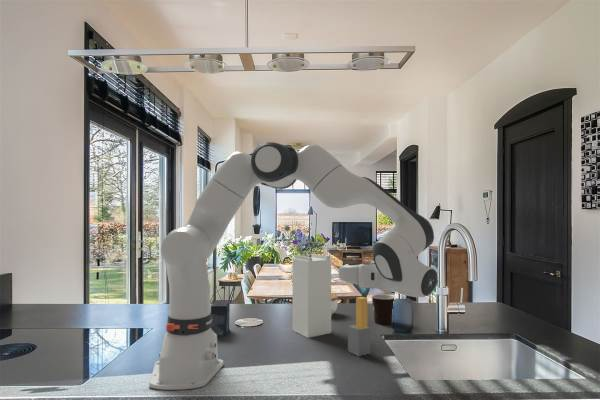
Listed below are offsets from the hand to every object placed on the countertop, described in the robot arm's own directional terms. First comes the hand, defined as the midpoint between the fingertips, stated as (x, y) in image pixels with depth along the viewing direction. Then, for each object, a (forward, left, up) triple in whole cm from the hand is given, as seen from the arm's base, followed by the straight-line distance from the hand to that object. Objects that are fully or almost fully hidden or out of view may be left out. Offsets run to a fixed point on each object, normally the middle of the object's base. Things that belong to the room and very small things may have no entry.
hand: (353, 268), depth 126 cm
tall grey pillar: (+20, +12, -26) cm, 34 cm away
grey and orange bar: (-4, -3, -18) cm, 18 cm away
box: (+20, +44, -26) cm, 55 cm away
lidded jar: (+44, +4, -26) cm, 51 cm away
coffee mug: (+32, -18, -26) cm, 45 cm away
